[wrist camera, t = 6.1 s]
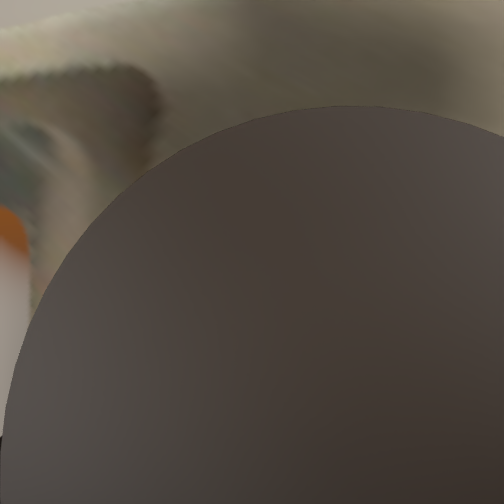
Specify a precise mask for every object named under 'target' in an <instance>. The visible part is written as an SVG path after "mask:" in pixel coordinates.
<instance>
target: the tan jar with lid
mask: <svg viewBox="0 0 504 504" xmlns="http://www.w3.org/2000/svg"><path fill="white" fill-rule="evenodd" d="M0 502H1V504H504V137H502V136H499V135H496V134H494V133H491V132H489V131H486V130H483V129H481V128H478V127H476V126H473V125H470V124H467V123H463V122H459V121H455V120H451V119H447V118H443V117H439V116H435V115H431V114H427V113H423V112H415V111H408V110H400V109H393V108H385V107H361V106H333V107H323V108H313V109H304V110H294V111H290V112H285V113H281V114H276V115H272V116H267V117H263V118H259V119H254V120H251V121H249V122H246V123H243V124H240V125H237V126H234V127H231V128H229V129H226V130H223V131H220V132H217V133H215V134H213V135H211V136H209V137H207V138H205V139H203V140H201V141H199V142H197V143H195V144H193V145H191V146H188V147H186V148H184V149H182V150H181V151H179V152H177V153H176V154H174V155H173V156H171V157H170V158H168V159H167V160H165V161H163V162H162V163H160V164H159V165H157V166H156V167H154V168H153V169H151V170H149V171H148V172H147V173H146V174H144V175H143V176H142V177H141V178H139V179H138V180H137V181H136V182H135V183H133V184H132V185H131V186H130V187H128V188H127V189H126V190H125V191H124V192H122V193H121V194H120V195H119V196H118V197H117V198H116V199H115V200H114V201H113V202H112V203H111V204H110V205H109V206H108V207H107V208H106V209H105V210H104V211H103V212H102V213H101V214H100V215H99V216H98V217H97V218H96V219H95V220H94V221H93V222H92V223H91V225H90V226H89V227H88V228H87V230H86V231H85V232H84V234H83V235H82V236H81V237H80V239H79V240H78V241H77V243H76V244H75V245H74V247H73V248H72V249H71V250H70V252H69V253H68V254H67V256H66V257H65V259H64V261H63V262H62V264H61V266H60V267H59V269H58V270H57V272H56V274H55V275H54V277H53V279H52V280H51V282H50V284H49V285H48V287H47V289H46V290H45V292H44V295H43V297H42V299H41V301H40V303H39V305H38V307H37V310H36V312H35V314H34V316H33V318H32V320H31V322H30V325H29V327H28V330H27V333H26V336H25V339H24V341H23V345H22V347H21V350H20V353H19V356H18V359H17V362H16V365H15V369H14V373H13V378H12V382H11V387H10V391H9V395H8V400H7V404H6V410H5V418H4V427H3V435H2V444H1V455H0Z"/></svg>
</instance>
